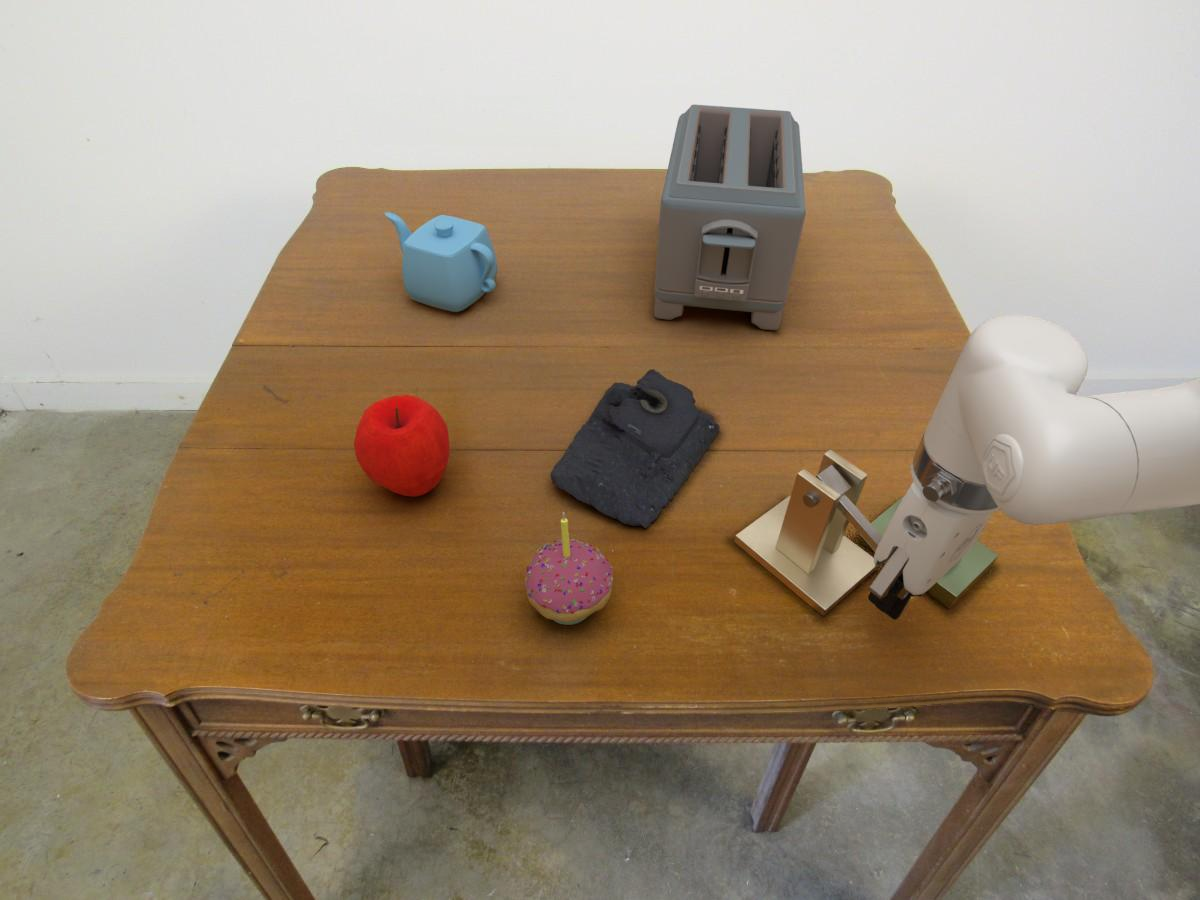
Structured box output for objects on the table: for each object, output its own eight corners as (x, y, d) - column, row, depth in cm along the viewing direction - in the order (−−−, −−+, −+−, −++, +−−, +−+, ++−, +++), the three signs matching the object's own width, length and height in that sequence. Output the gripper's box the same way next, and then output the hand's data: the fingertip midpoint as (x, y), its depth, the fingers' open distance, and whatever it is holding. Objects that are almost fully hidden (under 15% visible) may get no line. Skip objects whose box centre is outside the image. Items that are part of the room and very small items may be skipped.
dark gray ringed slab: (528, 486, 85) (525, 458, 81) (621, 380, 98) (622, 352, 95) (646, 541, 80) (648, 512, 76) (727, 421, 93) (732, 392, 90)
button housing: (990, 567, 78) (1006, 544, 75) (948, 609, 74) (963, 586, 71) (901, 505, 83) (912, 481, 81) (858, 541, 80) (868, 517, 77)
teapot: (421, 257, 119) (408, 189, 111) (517, 284, 114) (512, 215, 106) (373, 296, 112) (356, 226, 103) (474, 327, 106) (465, 256, 98)
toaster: (648, 335, 105) (658, 200, 91) (670, 221, 128) (680, 99, 114) (780, 349, 103) (811, 213, 89) (778, 230, 127) (802, 107, 112)
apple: (355, 511, 82) (327, 433, 73) (388, 449, 89) (366, 370, 80) (441, 524, 81) (424, 446, 72) (468, 460, 88) (454, 381, 79)
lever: (921, 589, 69) (942, 578, 67) (901, 607, 68) (922, 597, 65) (820, 474, 73) (837, 460, 70) (800, 490, 72) (815, 475, 69)
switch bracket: (877, 569, 77) (915, 488, 68) (822, 616, 73) (856, 537, 64) (788, 501, 84) (812, 419, 75) (733, 542, 80) (752, 459, 70)
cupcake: (521, 578, 76) (512, 502, 67) (601, 562, 77) (602, 486, 69) (536, 651, 70) (528, 578, 62) (622, 633, 72) (627, 559, 63)
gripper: (950, 551, 51) (876, 676, 65) (1064, 444, 59) (977, 576, 72) (861, 488, 55) (809, 618, 69) (978, 396, 63) (910, 529, 76)
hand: (895, 595), depth 70 cm, fingers closed on lever, 3 cm apart
